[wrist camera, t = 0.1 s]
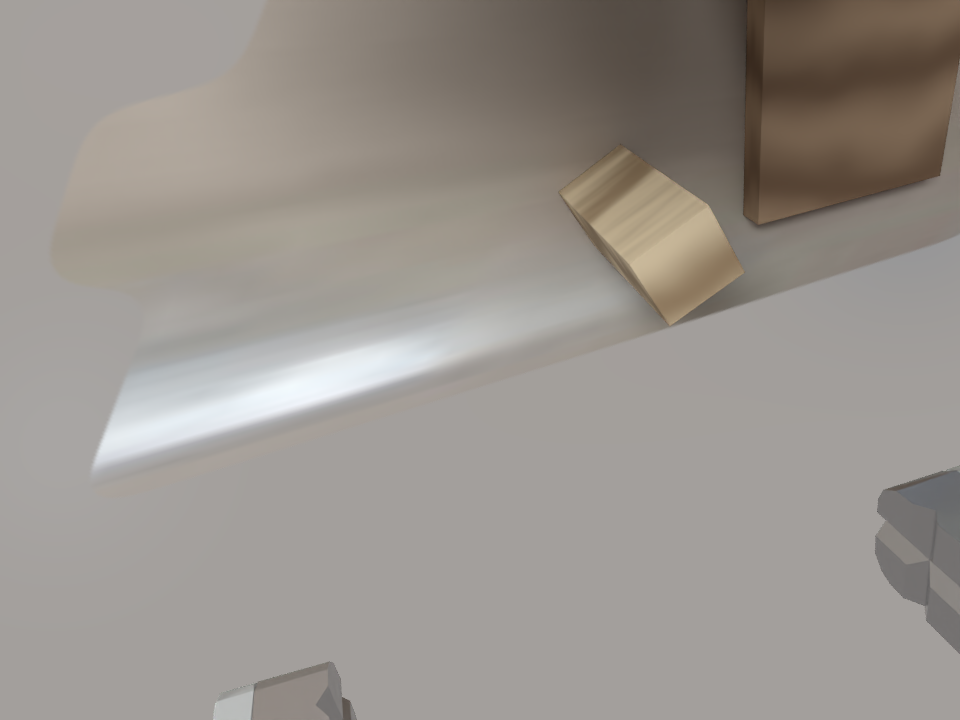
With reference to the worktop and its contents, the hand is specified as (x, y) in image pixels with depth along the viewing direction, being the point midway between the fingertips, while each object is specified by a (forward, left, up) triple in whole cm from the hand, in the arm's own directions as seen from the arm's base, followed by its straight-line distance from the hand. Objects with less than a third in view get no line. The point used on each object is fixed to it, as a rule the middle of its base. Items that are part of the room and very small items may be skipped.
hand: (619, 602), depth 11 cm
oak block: (+11, +14, -39) cm, 43 cm away
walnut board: (+6, +31, -39) cm, 50 cm away
